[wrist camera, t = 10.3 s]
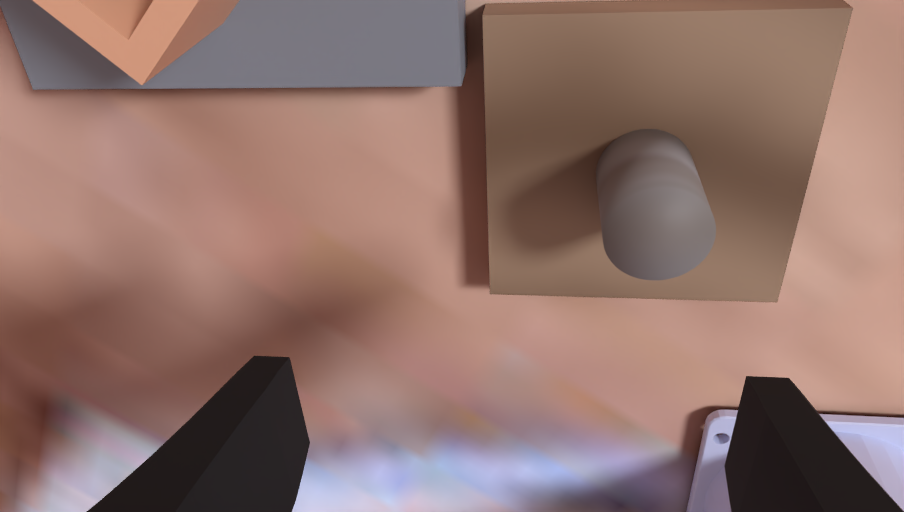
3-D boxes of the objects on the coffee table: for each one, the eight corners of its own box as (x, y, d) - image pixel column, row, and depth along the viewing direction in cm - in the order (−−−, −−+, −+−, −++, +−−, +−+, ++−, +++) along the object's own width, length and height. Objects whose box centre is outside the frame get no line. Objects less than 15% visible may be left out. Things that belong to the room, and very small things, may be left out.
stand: (768, 281, 21) (809, 378, 17) (492, 274, 22) (481, 364, 18) (837, -5, 16) (910, 53, 13) (485, 3, 17) (469, 59, 14)
